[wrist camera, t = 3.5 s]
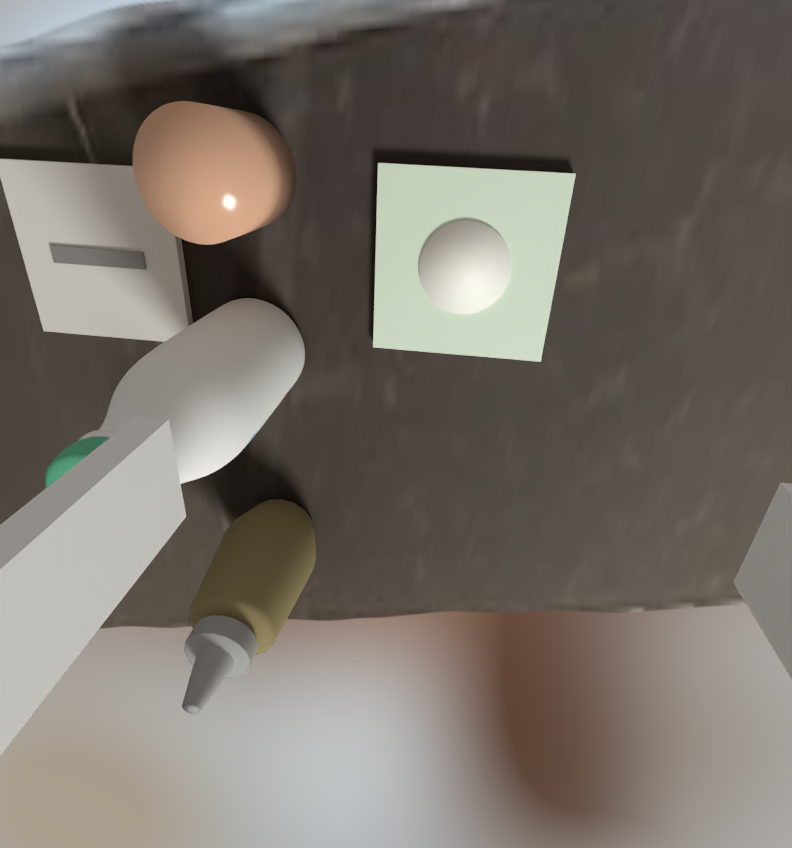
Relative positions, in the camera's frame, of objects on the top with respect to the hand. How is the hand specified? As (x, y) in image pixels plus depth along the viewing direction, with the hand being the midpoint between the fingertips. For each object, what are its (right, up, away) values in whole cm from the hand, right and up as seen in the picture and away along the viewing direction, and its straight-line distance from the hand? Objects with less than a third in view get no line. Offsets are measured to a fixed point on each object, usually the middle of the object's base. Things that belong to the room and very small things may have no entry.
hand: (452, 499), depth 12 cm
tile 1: (-22, +14, +26) cm, 37 cm away
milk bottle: (-12, +8, +28) cm, 32 cm away
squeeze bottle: (-12, -7, +36) cm, 39 cm away
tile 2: (+3, +12, +24) cm, 27 cm away
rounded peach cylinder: (-11, +18, +23) cm, 31 cm away
